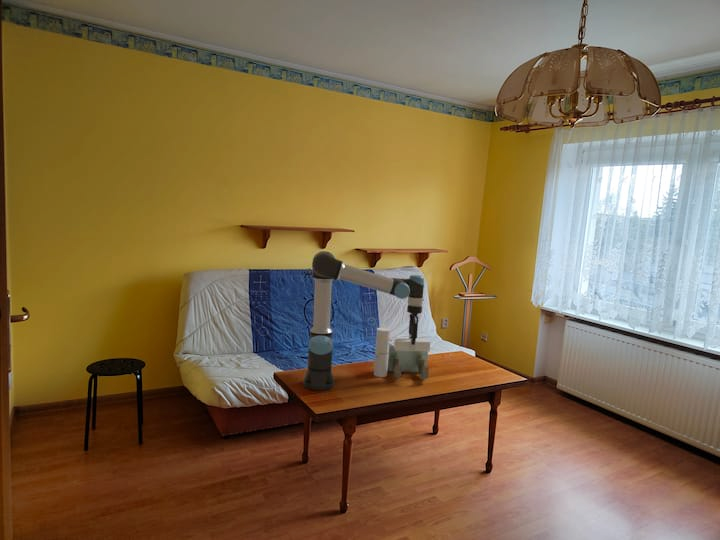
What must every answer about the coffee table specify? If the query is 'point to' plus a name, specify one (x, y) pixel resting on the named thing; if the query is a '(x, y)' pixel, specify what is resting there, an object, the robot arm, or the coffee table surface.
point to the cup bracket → (408, 362)
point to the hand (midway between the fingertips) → (411, 348)
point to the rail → (405, 345)
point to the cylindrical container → (381, 352)
